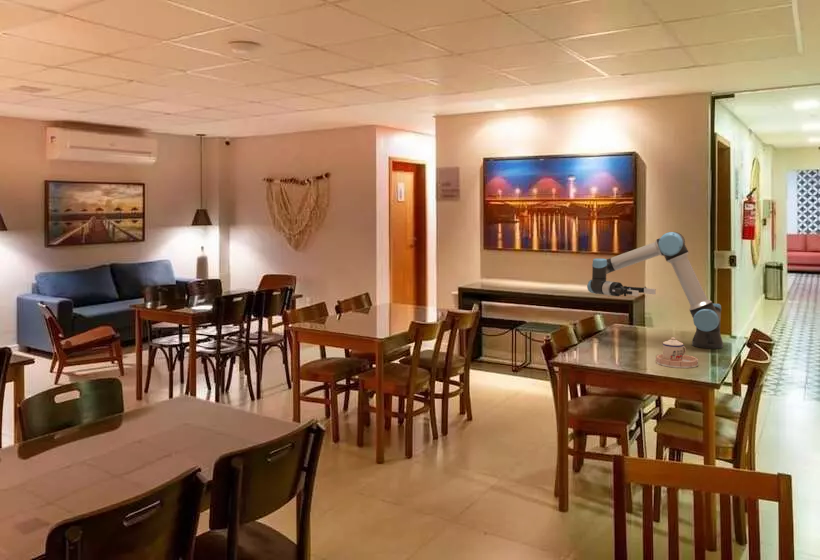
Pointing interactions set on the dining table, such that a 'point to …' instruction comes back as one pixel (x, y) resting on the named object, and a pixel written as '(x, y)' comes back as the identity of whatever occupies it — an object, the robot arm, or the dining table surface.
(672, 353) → the teacup with lid
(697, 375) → the dining table surface
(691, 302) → the robot arm
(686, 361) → the round tray
